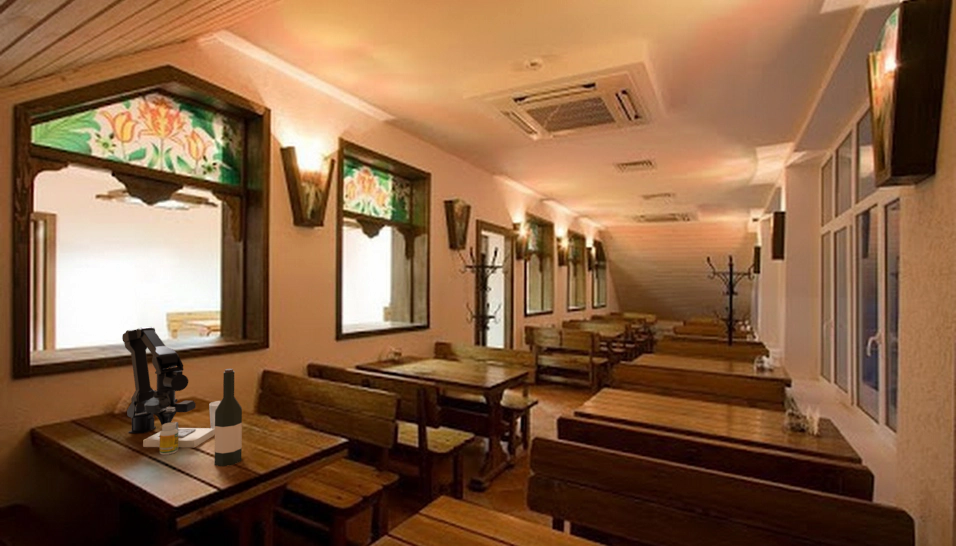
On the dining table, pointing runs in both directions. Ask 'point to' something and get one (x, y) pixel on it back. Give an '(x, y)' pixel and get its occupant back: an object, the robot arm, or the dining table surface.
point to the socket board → (183, 438)
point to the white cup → (213, 412)
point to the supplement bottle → (168, 439)
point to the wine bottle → (228, 425)
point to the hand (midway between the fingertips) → (165, 429)
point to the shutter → (183, 431)
